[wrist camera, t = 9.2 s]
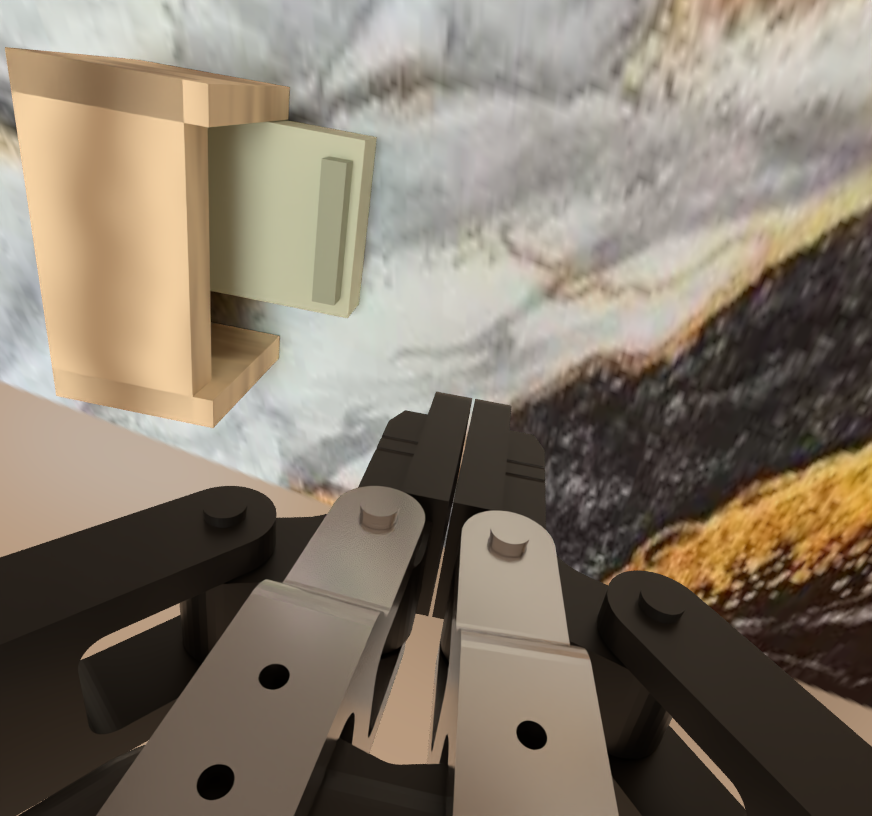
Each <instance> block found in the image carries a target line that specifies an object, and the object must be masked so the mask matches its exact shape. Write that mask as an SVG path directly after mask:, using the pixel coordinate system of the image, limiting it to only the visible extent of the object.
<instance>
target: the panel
mask: <svg viewBox="0 0 872 816" xmlns="http://www.w3.org/2000/svg"><path fill="white" fill-rule="evenodd" d="M376 140H377V137H373V136H368V135H362V134H357V133H352V132H346V131H341V130H336V129H330V128H325V127H320V126H314V125H309V124H304V123H298V122H293V121H288V120H279V121H269V122H259V123H249V124H238V125H228V126H218V127H208V186H209V251H210V291H214V292H219V293H224V294H229V295H234V296H239V297H244V298H249V299H254V300H259V301H264V302H269V303H274V304H279V305H284V306H289V307H294V308H299V309H304V310H309V311H314V312H319V313H324V314H329V315H334V316H339V317H344V318H348V317H349V316H350V315H351V313H352V312H353V311H354V310H355V308H356V307H357V306H358V305H359V298H360V289H361V280H362V270H363V261H364V252H365V242H366V233H367V224H368V215H369V205H370V196H371V187H372V177H373V168H374V159H375V149H376Z"/></svg>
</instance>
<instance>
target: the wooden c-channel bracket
mask: <svg viewBox="0 0 872 816" xmlns="http://www.w3.org/2000/svg"><path fill="white" fill-rule="evenodd" d="M5 52H6V58H7V65H8V72H9V79H10V85H11V92H12V99H13V106H14V112H15V119H16V126H17V133H18V139H19V146H20V153H21V160H22V166H23V173H24V180H25V187H26V193H27V200H28V207H29V214H30V220H31V227H32V234H33V241H34V247H35V254H36V261H37V268H38V274H39V281H40V288H41V295H42V301H43V308H44V315H45V322H46V328H47V335H48V342H49V349H50V355H51V362H52V369H53V376H54V382H55V389H56V396H60V397H65V398H69V399H74V400H79V401H84V402H89V403H94V404H99V405H103V406H108V407H113V408H118V409H123V410H128V411H133V412H138V413H142V414H147V415H152V416H157V417H162V418H167V419H172V420H177V421H181V422H186V423H191V424H196V425H201V426H206V427H211V428H214V427H215V426H216V425H217V424H218V422H219V421H220V420H221V419H222V418H223V417H224V416H225V415H226V414H227V413H228V412H229V411H230V410H231V409H232V408H233V406H234V405H235V404H236V403H237V402H238V401H239V400H240V399H241V398H242V397H243V396H244V395H245V394H246V393H247V392H248V391H249V389H250V388H251V387H252V386H253V385H254V384H255V383H256V382H257V381H258V380H259V379H260V378H261V377H262V376H263V375H264V374H265V372H266V371H267V370H268V369H269V368H270V367H271V366H272V365H273V364H274V363H275V362H276V361H277V360H278V359H279V340H280V336H278V335H273V334H268V333H263V332H258V331H253V330H248V329H243V328H238V327H232V326H227V325H222V324H217V323H212V322H211V315H210V251H209V186H208V127H218V126H228V125H238V124H249V123H259V122H269V121H279V120H288V116H289V91H290V87H286V86H281V85H275V84H270V83H264V82H259V81H253V80H248V79H242V78H236V77H231V76H225V75H220V74H214V73H209V72H203V71H198V70H192V69H186V68H181V67H175V66H170V65H164V64H159V63H153V62H147V61H142V60H136V59H125V58H114V57H104V56H93V55H82V54H72V53H61V52H51V51H40V50H29V49H19V48H8V47H5Z"/></svg>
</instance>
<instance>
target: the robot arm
mask: <svg viewBox="0 0 872 816" xmlns="http://www.w3.org/2000/svg"><path fill="white" fill-rule="evenodd" d="M471 402H472V398H467V397H462V396H457V395H452V394H446V393H441V392H436V393H435V396H434V399H433V402H432V405H431V407H430V410H429V413H428V415H427V414H421V413H416V412H411V411H406V410H405V411H404V412H402V413H400V414H399V415H397V416H396V417H394V418H393V419H391V420H389V422H388V424H387V426H386V429H385V431H384V433H383V435H382V438H381V439H380V441H379V444H378V446H377V450H375V452H374V454H373V457H372V459H371V461H370V463H369V465H368V467H367V469H366V472H365V474H364V476H363V478H362V480H361V482H360V484H359V487H358V488H356V489H353V490H350V491H348V492H346V493H344V494H343V495H341V496H340V497H339V498H338V499H337V500H336V501H335V503H334V504H333V506H332V507H331V509H330V511H329V512H328V514H325V515H320V516H314V517H297V518H296V517H294V518H276V508H275V506H274V504H273V502H272V501H271V500H270V499H269V498H268V497H267V496H266V495H264V494H262V493H260V492H258V491H256V490H253V489H250V488H246V487H239V486H221V487H214V488H209V489H206V490H203V491H199V492H196V493H193V494H190V495H188V496H184V497H181V498H179V499H175V500H172V501H169V502H166V503H163V504H160V505H157V506H154V507H151V508H148V509H145V510H142V511H139V512H136V513H133V514H130V515H127V516H124V517H121V518H118V519H115V520H112V521H109V522H106V523H103V524H100V525H97V526H94V527H91V528H88V529H85V530H82V531H79V532H76V533H73V534H70V535H67V536H64V537H61V538H58V539H55V540H52V541H49V542H46V543H43V544H40V545H37V546H34V547H31V548H28V549H25V550H21V551H18V552H16V553H12V554H9V555H7V556H3V557H0V816H16V815H18V814H20V813H21V812H23V811H25V810H27V809H28V810H27V811H25V812H23V813H22V814H20V815H19V816H872V747H871V746H870V745H869V744H868V743H867V742H865V741H864V740H863V739H862V738H861V737H860V736H858V735H857V734H856V733H855V732H854V731H853V730H852V729H851V728H849V727H848V726H847V725H846V724H845V723H844V722H842V721H841V720H840V719H839V718H838V717H837V716H835V715H834V714H833V713H832V712H831V711H829V710H828V709H827V708H826V707H825V706H824V705H823V704H822V703H820V702H819V701H818V700H817V699H816V698H815V697H813V696H812V695H811V694H810V693H809V692H808V691H806V690H805V689H804V688H803V687H802V686H801V685H800V684H798V683H797V682H796V681H795V680H794V679H793V678H791V677H790V676H789V675H788V674H787V673H786V672H784V671H783V670H782V669H781V668H780V667H779V666H778V665H776V664H775V663H774V662H773V661H772V660H771V659H769V658H768V657H767V656H766V655H765V654H764V653H762V652H761V651H760V650H759V649H758V648H757V647H755V646H754V645H753V644H752V643H751V642H750V641H749V640H747V639H746V638H745V637H744V636H743V635H742V634H740V633H739V632H738V631H737V630H736V629H735V628H733V627H732V626H731V625H730V624H729V623H728V622H727V621H725V620H724V619H723V618H722V617H721V616H720V615H718V614H717V613H716V612H715V611H714V610H713V609H711V608H710V607H709V606H708V605H707V604H706V603H704V602H703V601H702V600H701V599H700V598H699V597H698V596H696V595H695V594H694V593H693V592H692V591H690V590H689V589H688V588H686V587H685V586H683V585H682V584H680V583H678V582H677V581H675V580H673V579H671V578H668V577H666V576H663V575H660V574H657V573H653V572H648V571H628V572H624V573H621V574H619V575H617V576H616V577H614V578H613V579H612V580H611V582H610V583H609V586H608V585H606V584H603V583H601V582H599V581H597V580H594V579H592V578H590V577H588V576H586V575H584V574H582V573H580V572H578V571H576V570H574V569H573V568H571V567H570V566H568V565H567V564H566V563H565V562H563V561H562V560H561V559H560V558H559V557H558V556H557V555H556V549H555V545H554V541H553V540H552V538H551V536H550V535H549V533H548V532H547V531H546V500H545V470H544V469H545V451H544V449H543V448H542V446H541V445H540V443H539V442H538V440H537V439H536V438H535V436H534V435H531V434H526V433H521V432H515V431H510V430H509V428H510V417H511V406H510V405H505V404H500V403H494V402H489V401H484V400H478V399H475V403H474V408H473V412H472V417H471V422H470V426H469V431H468V436H467V441H466V445H465V450H464V455H463V460H462V464H461V469H460V474H459V478H458V473H459V468H460V463H461V457H462V452H463V446H464V441H465V435H466V430H467V424H468V419H469V414H470V408H471ZM457 478H458V483H457ZM456 484H457V488H456ZM455 489H456V493H455ZM454 493H455V497H454ZM453 498H454V502H453ZM452 503H453V508H452ZM451 508H452V513H451V518H450V524H449V529H448V535H447V540H446V546H445V551H444V556H443V562H442V568H441V573H440V578H439V584H438V589H437V595H436V600H435V605H434V611H433V616H432V617H436V618H441V619H444V622H443V628H442V634H441V639H440V644H439V650H438V655H437V660H436V667H435V679H434V689H433V701H432V712H431V723H430V734H429V746H428V757H427V764H411V765H395V764H390V763H387V762H385V761H382V760H380V759H378V758H376V757H375V756H373V755H371V754H369V753H370V750H371V747H372V744H373V742H374V739H375V736H376V733H377V730H378V727H379V724H380V721H381V718H382V715H383V712H384V709H385V706H386V704H387V701H388V698H389V695H390V692H391V689H392V686H393V683H394V680H395V677H396V674H397V672H398V669H399V665H400V663H401V660H402V657H403V653H404V649H405V643H406V640H407V639H408V637H409V636H410V633H411V630H412V626H413V622H414V618H415V614H421V615H426V616H428V615H429V611H430V606H431V601H432V596H433V592H434V587H435V582H436V578H437V573H438V568H439V564H440V559H441V554H442V550H443V545H444V540H445V536H446V531H447V526H448V522H449V517H450V512H451ZM178 603H180V613H181V615H179V616H177V617H175V618H173V619H170V620H168V621H166V622H164V623H162V624H160V625H157V626H155V627H153V628H151V629H149V630H146V631H144V632H142V633H140V634H138V635H135V636H133V637H131V638H129V639H127V640H125V641H123V642H120V643H118V644H116V645H114V646H112V647H109V648H107V649H105V650H103V651H101V652H98V653H96V654H94V655H92V656H90V657H87V658H85V659H82V660H80V659H81V657H82V656H83V654H84V653H85V652H86V651H87V649H88V648H89V647H90V646H92V645H93V644H94V643H95V642H96V641H98V640H99V639H101V638H103V637H105V636H107V635H109V634H111V633H113V632H115V631H118V630H120V629H122V628H124V627H127V626H129V625H131V624H133V623H136V622H138V621H140V620H142V619H145V618H147V617H149V616H151V615H154V614H156V613H158V612H160V611H163V610H165V609H167V608H169V607H171V606H174V605H176V604H178ZM672 717H673V718H674V719H675V721H676V722H677V723H678V724H679V725H680V726H681V727H682V728H683V729H684V730H685V732H686V733H687V734H688V735H689V736H690V737H691V738H692V739H693V740H694V741H695V742H696V743H697V745H699V746H700V748H701V749H702V750H703V751H704V752H705V753H706V754H707V755H708V756H709V758H710V759H711V760H712V761H713V762H714V763H715V764H716V765H717V766H718V767H719V768H720V769H721V771H722V772H723V773H724V774H725V775H726V776H727V777H728V778H729V779H730V781H731V782H732V783H733V784H734V786H735V787H736V789H737V790H738V792H739V794H740V796H741V798H742V800H743V802H744V806H745V809H746V810H745V809H744V807H743V806H742V805H741V804H740V803H739V802H738V801H737V800H736V799H735V798H734V796H733V795H732V794H731V793H730V792H729V791H728V790H727V789H726V788H725V786H724V785H723V784H722V783H721V782H720V781H719V780H718V779H717V778H716V777H715V775H714V774H713V773H712V772H711V771H710V770H709V769H708V768H707V767H706V766H705V764H704V763H703V762H702V761H701V760H700V759H699V758H698V757H697V756H696V754H695V753H694V752H693V751H692V750H691V749H690V748H689V747H688V746H687V745H686V743H685V742H684V741H683V740H682V739H681V738H680V737H679V736H678V735H677V734H676V732H675V731H674V730H673V729H672V728H671V727H670V726H669V724H670V721H671V719H672ZM148 740H149V741H148ZM146 741H148V742H147V744H146V745H143V746H141V747H138V748H135V747H137V746H139V745H141V744H142V743H144V742H146ZM134 748H135V749H134ZM132 749H133V750H132ZM130 750H131V751H130ZM128 751H129V752H128ZM46 798H47V799H46ZM44 799H45V800H44ZM41 801H42V802H41ZM39 802H40V803H39ZM37 803H38V804H37ZM36 804H37V805H36ZM34 805H35V806H34ZM32 806H33V807H32ZM30 807H32V808H30ZM29 808H30V809H29Z"/></svg>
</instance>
